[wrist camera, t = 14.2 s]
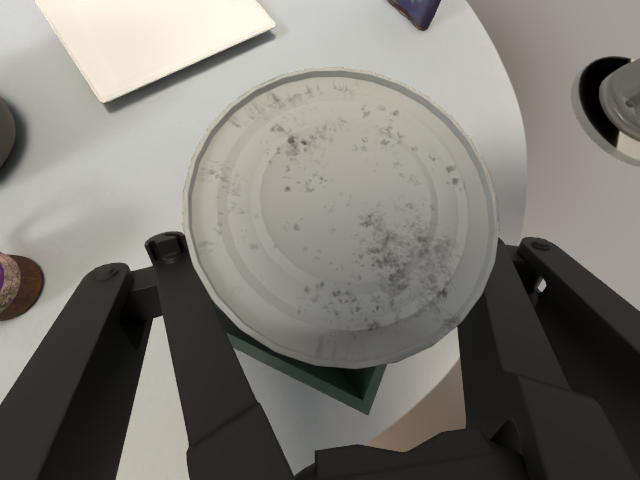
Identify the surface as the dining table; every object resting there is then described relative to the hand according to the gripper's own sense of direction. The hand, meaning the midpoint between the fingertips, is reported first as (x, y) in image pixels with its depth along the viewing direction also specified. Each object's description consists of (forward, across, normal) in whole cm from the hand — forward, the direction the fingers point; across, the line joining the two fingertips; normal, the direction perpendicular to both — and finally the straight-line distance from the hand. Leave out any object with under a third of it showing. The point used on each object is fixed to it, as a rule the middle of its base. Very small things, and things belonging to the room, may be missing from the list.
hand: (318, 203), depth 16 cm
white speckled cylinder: (+1, 0, -5) cm, 5 cm away
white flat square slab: (+37, -20, +16) cm, 45 cm away
